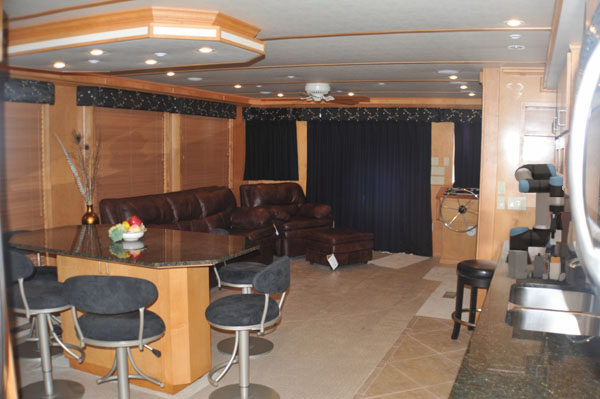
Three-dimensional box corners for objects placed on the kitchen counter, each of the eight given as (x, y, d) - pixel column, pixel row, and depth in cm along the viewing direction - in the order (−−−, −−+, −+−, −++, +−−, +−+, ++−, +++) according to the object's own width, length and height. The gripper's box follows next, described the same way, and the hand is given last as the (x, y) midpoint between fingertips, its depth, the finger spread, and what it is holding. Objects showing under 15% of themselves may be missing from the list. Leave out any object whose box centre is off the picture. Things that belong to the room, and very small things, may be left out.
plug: (560, 278, 296) (560, 254, 295) (558, 279, 292) (559, 255, 291) (551, 277, 299) (552, 253, 298) (549, 278, 295) (550, 254, 294)
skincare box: (515, 280, 295) (515, 251, 294) (506, 277, 302) (507, 249, 301) (528, 279, 297) (528, 251, 297) (519, 276, 304) (520, 249, 303)
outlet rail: (532, 275, 307) (532, 269, 306) (565, 279, 296) (565, 273, 296) (528, 278, 299) (528, 272, 299) (561, 282, 289) (561, 275, 289)
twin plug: (535, 275, 304) (535, 252, 303) (544, 276, 301) (544, 252, 300) (533, 277, 300) (533, 253, 299) (542, 278, 297) (542, 253, 297)
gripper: (554, 203, 305) (553, 239, 306) (543, 205, 285) (543, 245, 287) (568, 203, 301) (567, 240, 302) (559, 206, 281) (558, 246, 282)
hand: (555, 243), depth 294 cm, fingers open, 13 cm apart
